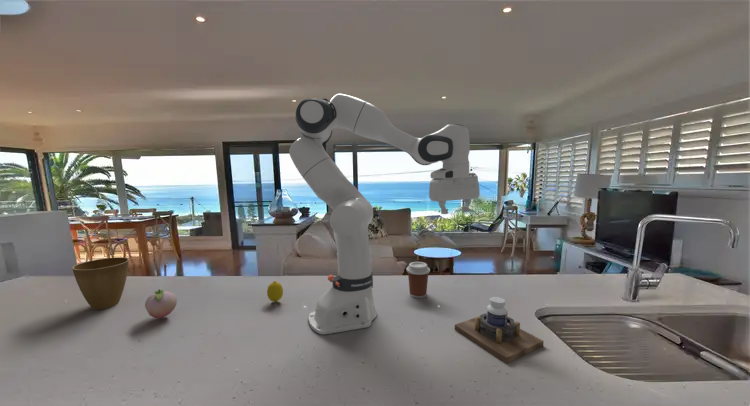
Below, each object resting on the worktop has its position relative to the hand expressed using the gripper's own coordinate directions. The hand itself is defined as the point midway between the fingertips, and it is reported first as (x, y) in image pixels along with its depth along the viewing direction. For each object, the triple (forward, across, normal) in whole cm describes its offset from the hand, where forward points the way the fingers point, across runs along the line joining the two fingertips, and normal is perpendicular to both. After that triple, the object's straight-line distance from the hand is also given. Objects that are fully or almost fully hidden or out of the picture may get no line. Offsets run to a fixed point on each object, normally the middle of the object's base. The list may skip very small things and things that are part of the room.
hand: (455, 212), depth 101 cm
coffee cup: (+33, +6, -13) cm, 36 cm away
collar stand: (+33, +4, +22) cm, 40 cm away
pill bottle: (+32, +4, +22) cm, 39 cm away
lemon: (+33, +56, -33) cm, 73 cm away
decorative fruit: (+33, +91, -39) cm, 104 cm away
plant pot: (+33, +111, -61) cm, 131 cm away
